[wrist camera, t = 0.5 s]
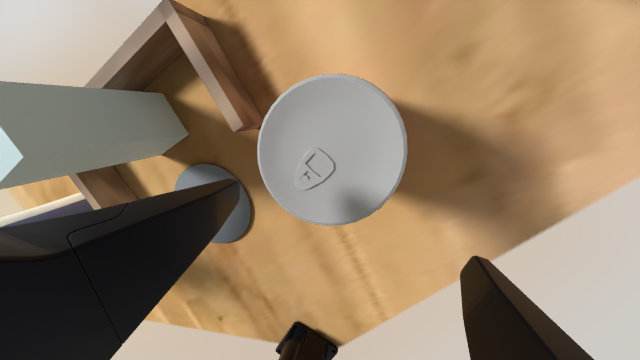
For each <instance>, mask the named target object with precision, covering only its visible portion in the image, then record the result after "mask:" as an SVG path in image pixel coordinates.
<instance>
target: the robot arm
mask: <svg viewBox="0 0 640 360" xmlns="http://www.w3.org/2000/svg"><path fill="white" fill-rule="evenodd" d="M239 200H240V183H239V181H237V180H234V179H231V178H228V179H224V180H220V181H215V182H211V183H207V184H203V185H199V186H194V187H190V188H186V189H182V190H178V191H173V192H169V193H165V194H161V195H157V196H152V197H148V198H144V199H140V200H136V201H132V202H130V203H129V202H127V203H123V204H119V205H114V206H110V207H105V208H101V209H97V210H92V211H87V212H82V213H77V214H72V215H66V216H61V217H56V218H50V219H45V220H40V221H35V222H29V223H24V224H19V225H13V226H7V227H0V360H110V359H111V358H112V356H113V355H114V354H115V353H116V352H117V351H118V350H119V348H120V347H121V346H122V344H123V343H124V342H125V341H126V340H127V339H128V337H129V336H130V335H131V334H132V333H133V332H134V330H135V329H136V328H137V327H138V326H139V325H140V323H141V322H142V321H143V320H144V319H145V318H146V316H147V315H148V314H149V313H150V312H151V311H152V309H153V308H154V307H155V306H156V305H157V304H158V302H159V301H160V300H161V299H162V298H163V297H164V295H165V294H166V293H167V292H168V291H169V289H170V288H171V287H172V286H173V285H174V284H175V282H176V281H177V280H178V279H179V278H180V277H181V275H182V274H183V273H184V272H185V271H186V270H187V268H188V267H189V266H190V265H191V264H192V263H193V261H194V260H195V259H196V258H197V257H198V256H199V254H200V253H201V252H202V251H203V250H204V248H205V247H206V246H207V245H208V244H209V243H210V241H211V240H212V239H213V238H214V237H215V236H216V234H217V233H218V232H219V230H220V229H221V228H222V226H223V225H224V223H225V222H226V220H227V219H228V217H229V216H230V214H231V213H232V212H233V210H234V209H235V207H236V206H237V204H238V202H239ZM460 282H461V296H462V309H463V320H464V326H465V331H466V337H467V342H468V348H469V353H470V358H471V360H594V359H593V358H592V357H591V356H590V355H588V353H586V352H585V351H584V350H583V349H582V348H581V347H580V346H579V345H578V344H577V343H576V342H575V341H574V340H572V339H571V337H569V336H568V335H567V334H566V333H565V332H564V331H563V330H562V329H561V328H560V327H559V326H558V325H557V324H556V323H555V322H553V321H552V320H551V319H550V318H549V317H548V316H547V315H546V314H545V313H544V312H543V311H542V310H541V309H539V307H538V306H537V305H535V304H534V303H533V302H532V301H531V300H530V299H529V298H528V297H527V296H526V295H525V294H524V293H523V292H522V291H521V290H520V289H519V288H517V287H516V286H515V285H514V284H513V283H512V282H511V281H510V280H509V279H508V278H507V277H506V276H505V275H504V274H503V273H502V272H500V271H499V270H498V269H497V268H496V267H495V266H494V265H493V264H492V263H491V262H490V261H489V260H487V259H485V258H482V257H479V256H472V257H471V258H470V260H469V261H468V262H467V264H466V265H465V266H464V268H463V269H462V271H461V274H460ZM276 352H277V353H278V354H280V358H279V360H332V358H333V357H334V356H335V355H336V354H337V352H338V348H337V347H336V346H335V345H334V344H332V343H330V342H329V341H327V340H326V339H324V338H322V337H321V336H319V335H318V334H316V333H315V332H313V331H311V330H310V329H308V328H307V327H305V326H303V325H302V324H300V323H299V322H294V323H293V325H292V326H291V328H290V329H289V331H288V332H287V333H286V335H285V336H284V338H283V339H282V341H281V342H280V343H279V345H278V346H277V348H276Z"/></svg>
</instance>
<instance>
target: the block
mask: <svg viewBox="0 0 640 360" xmlns="http://www.w3.org/2000/svg"><path fill="white" fill-rule="evenodd" d="M187 135H189V134H188V132H187V131H186V129H185V128H184V126H183V124H182V123H181V121H180V120H179V118H178V117H177V115H176V113H175V112H174V110H173V109H172V107H171V106H170V104H169V103H168V101H167V99H166V98H165V96H164V95H163V93H153V92H139V91H126V90H112V89H98V88H85V87H71V86H57V85H44V84H30V83H17V82H2V81H0V189H5V188H9V187H14V186H19V185H23V184H28V183H33V182H38V181H42V180H47V179H52V178H56V177H61V176H66V175H70V174H75V173H80V172H84V171H89V170H94V169H98V168H103V167H108V166H112V165H117V164H122V163H126V162H131V161H136V160H140V159H145V158H150V157H154V156H159V155H162V154H163V153H165V152H166V151H167V150H169V149H170V148H171V147H173V146H174V145H175V144H177V143H178V142H179V141H181V140H182V139H183V138H185V137H186V136H187Z"/></svg>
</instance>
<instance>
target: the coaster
mask: <svg viewBox="0 0 640 360" xmlns="http://www.w3.org/2000/svg"><path fill="white" fill-rule="evenodd" d="M228 178H231V179H234V180H237V181H239V180H238V179H237V178H236V177H235V176H234V175H233V174H231V173H230V172H229V171H227V170H226V169H224V168H222V167H219V166H217V165H213V164H197V165H194V166H191V167H189V168H187V169H186V170H185V171H183V172H182V174H181V175H180V176H179V178H178V180H177V182H176V185H175V191H178V190H182V189H186V188H190V187H194V186H199V185H203V184H207V183H211V182H215V181H220V180H224V179H228ZM239 183H240V181H239ZM250 219H251V205H250V200H249V197H248V195H247V192H246V190H245V189H244V187H243V185H242V184H241V183H240V200H239V202H238V204H237V206H236V207H235V209H234V210H233V212H232V213H231V214H230V216H229V217H228V219H227V220H226V222H225V223H224V225H223V226H222V228H221V229H220V230H219V232H218V233H217V234H216V236H215V237H214V238H213V239H212V240H211V241H210V242H214V243H228V242H232V241H234V240H236V239H237V238H239V237H240V236H241V235H242V234H243V233H244V232H245V231H246V229H247V228H248V226H249V223H250Z"/></svg>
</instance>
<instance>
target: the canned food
mask: <svg viewBox="0 0 640 360" xmlns="http://www.w3.org/2000/svg"><path fill="white" fill-rule="evenodd" d="M407 154H408V149H407V134H406V130H405V126H404V122H403V119H402V117H401V115H400V113H399V111H398V110H397V108H396V106H395V104H394V103H393V102H392V101H391V100H390V98H389V97H388V96H387V95H386V94H385V93H384V92H383V91H381V90H380V89H379V88H377V87H376V86H375V85H373V84H372V83H370V82H368V81H365V80H363V79H361V78H359V77H355V76H350V75H345V74H322V75H318V76H314V77H310V78H307V79H305V80H303V81H301V82H299V83H297V84H295V85H293V86H292V87H290V88H289V89H288V90H287V91H285V92H284V93H283V94H281V96H280V97H279V98H278V99H277V100H276V101H275V102H274V104H273V105H272V106H271V108H270V109H269V111H268V113H267V115H266V116H265V118H264V120H263V123H262V126H261V129H260V132H259V138H258V144H257V157H258V164H259V169H260V174H261V176H262V179H263V181H264V183H265V186H266V188H267V189H268V191H269V192H270V194H271V195H272V197H273V198H274V199H275V200H276V201H277V202H278V204H279V205H280V206H281V207H282V208H284V209H285V210H286V211H288V212H289V213H290V214H292V215H293V216H295V217H297V218H299V219H301V220H303V221H306V222H310V223H313V224H317V225H325V226H336V225H345V224H349V223H353V222H357V221H359V220H361V219H363V218H365V217H367V216H369V215H371V214H372V213H374V212H375V211H376V210H378V209H379V208H381V207H382V206H383V205H384V203H385V202H386V201H387V200H388V199H389V198H390V197H391V196H392V194H393V193H394V191H395V190H396V188H397V186H398V185H399V183H400V181H401V178H402V175H403V173H404V170H405V166H406V160H407Z"/></svg>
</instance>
